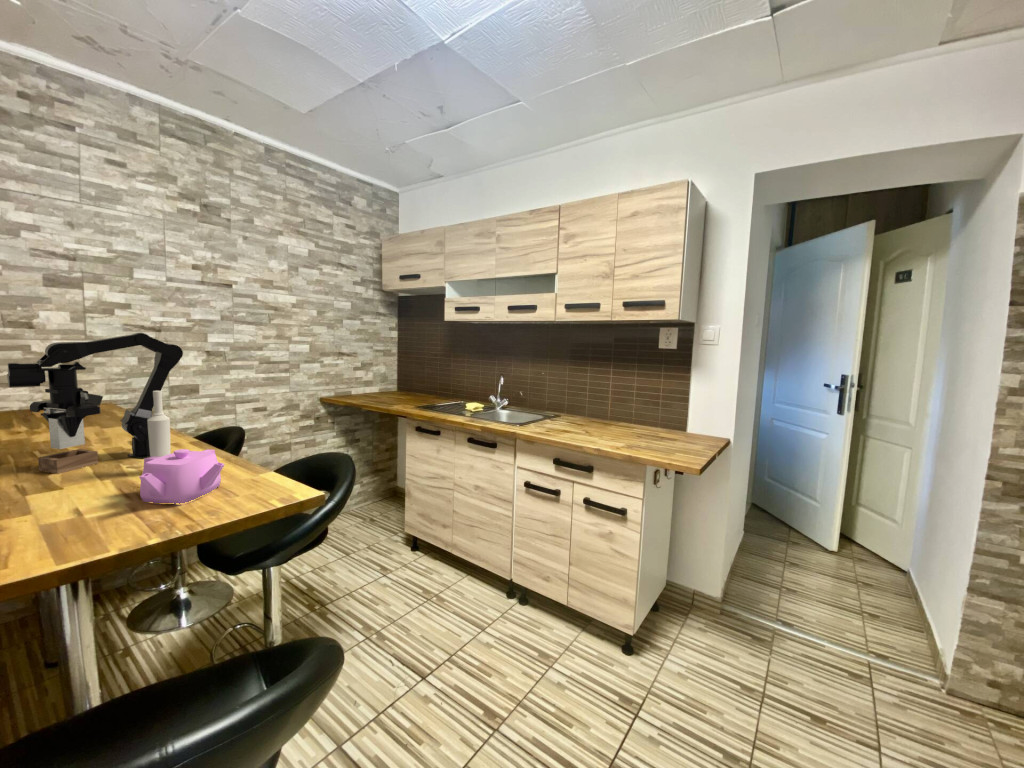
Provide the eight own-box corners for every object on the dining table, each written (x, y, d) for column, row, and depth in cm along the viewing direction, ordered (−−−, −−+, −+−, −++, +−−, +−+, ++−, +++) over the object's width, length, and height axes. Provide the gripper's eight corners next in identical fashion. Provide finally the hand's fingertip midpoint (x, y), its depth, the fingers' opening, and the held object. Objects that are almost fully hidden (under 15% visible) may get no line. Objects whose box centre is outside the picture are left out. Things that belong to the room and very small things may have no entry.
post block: (98, 463, 127) (97, 451, 126) (57, 473, 117) (56, 460, 117) (80, 461, 128) (79, 448, 128) (39, 470, 119) (38, 457, 118)
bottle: (145, 472, 121) (141, 391, 118) (165, 468, 126) (161, 389, 123) (156, 475, 120) (152, 393, 117) (176, 470, 125) (172, 391, 122)
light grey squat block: (85, 444, 124) (82, 415, 123) (59, 449, 119) (57, 419, 117) (76, 442, 125) (74, 414, 124) (51, 447, 119) (48, 418, 118)
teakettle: (216, 479, 120) (214, 438, 119) (227, 497, 108) (225, 452, 107) (138, 492, 108) (136, 447, 107) (141, 514, 96) (138, 464, 95)
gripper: (119, 384, 126) (122, 433, 127) (74, 380, 129) (77, 427, 131) (74, 388, 115) (78, 442, 117) (26, 383, 118) (31, 435, 120)
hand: (67, 436), depth 122 cm, fingers closed on light grey squat block, 3 cm apart
